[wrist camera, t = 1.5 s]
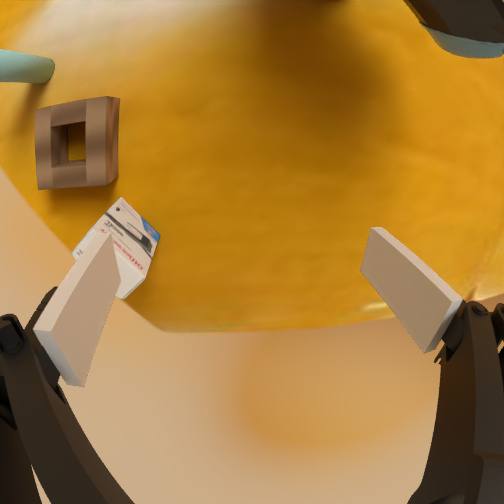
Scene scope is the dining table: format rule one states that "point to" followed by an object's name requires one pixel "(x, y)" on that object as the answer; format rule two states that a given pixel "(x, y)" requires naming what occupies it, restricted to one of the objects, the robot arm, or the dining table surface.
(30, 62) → the peg
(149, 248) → the ink box
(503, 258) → the dining table surface
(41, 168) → the socket block
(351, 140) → the dining table surface
